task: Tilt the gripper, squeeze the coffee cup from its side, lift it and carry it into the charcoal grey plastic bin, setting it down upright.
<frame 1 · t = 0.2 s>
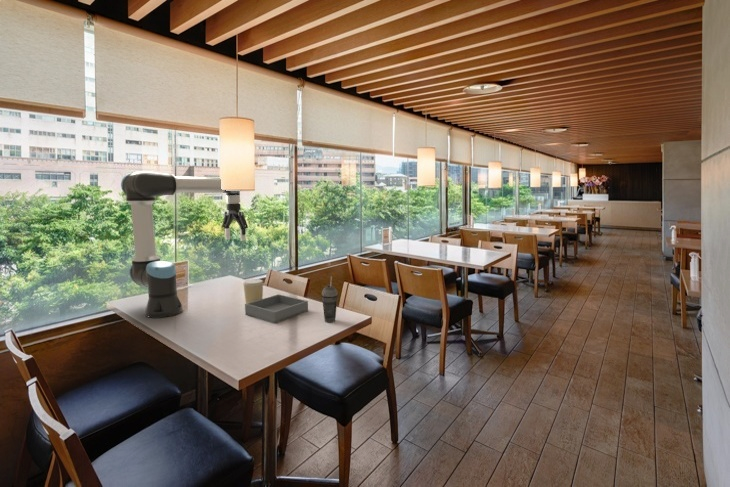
hand: (235, 240, 217), 28 cm above the table, tool pointing down, fingers open, 13 cm apart
beverage cup: (330, 321, 163), on the table
coffee cup: (254, 305, 186), on the table
grey bin: (277, 312, 174), on the table
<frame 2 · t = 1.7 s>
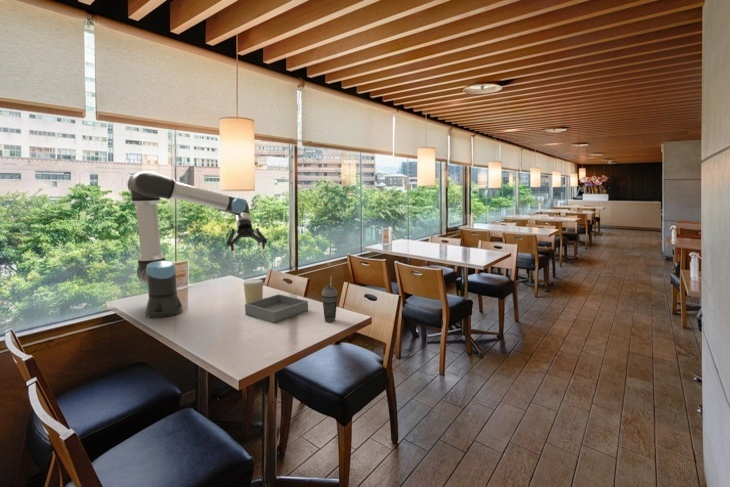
hand: (249, 254, 193), 24 cm above the table, tool tilted 45°, fingers open, 13 cm apart
nothing on the table moved.
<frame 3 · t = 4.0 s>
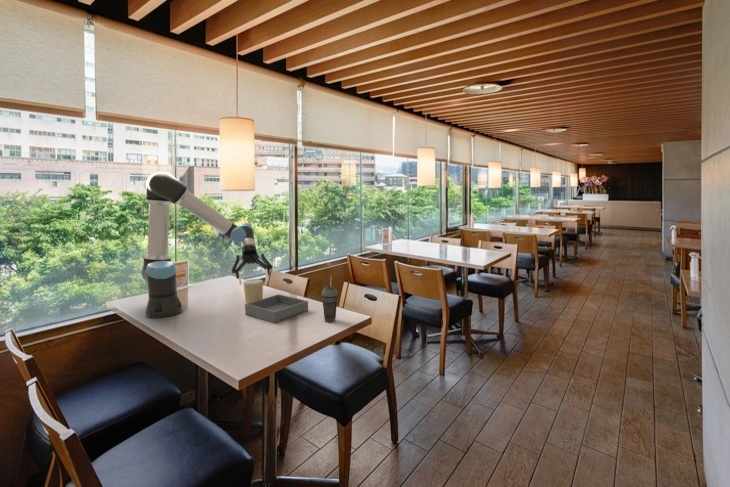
hand: (254, 282, 191), 10 cm above the table, tool tilted 45°, fingers open, 13 cm apart
nothing on the table moved.
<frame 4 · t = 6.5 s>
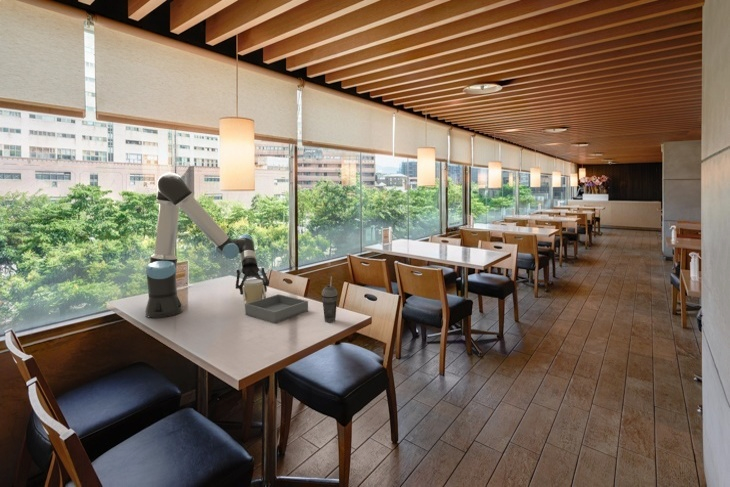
hand: (254, 298, 183), 4 cm above the table, tool tilted 45°, fingers closed on coffee cup, 9 cm apart
coffee cup: (254, 305, 186), on the table, touching gripper
everything else where it was.
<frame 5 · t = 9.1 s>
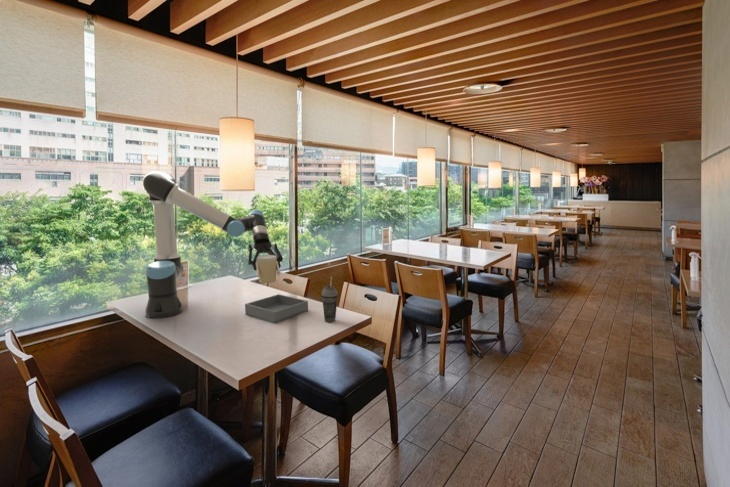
hand: (268, 274, 176), 17 cm above the table, tool tilted 45°, fingers closed on coffee cup, 9 cm apart
coffee cup: (267, 281, 180), point 13 cm above the table, touching gripper
everything else where it was.
when the fingers open (6 cm above the table, at t = 12.1 s): coffee cup drops 1 cm, resting on grey bin.
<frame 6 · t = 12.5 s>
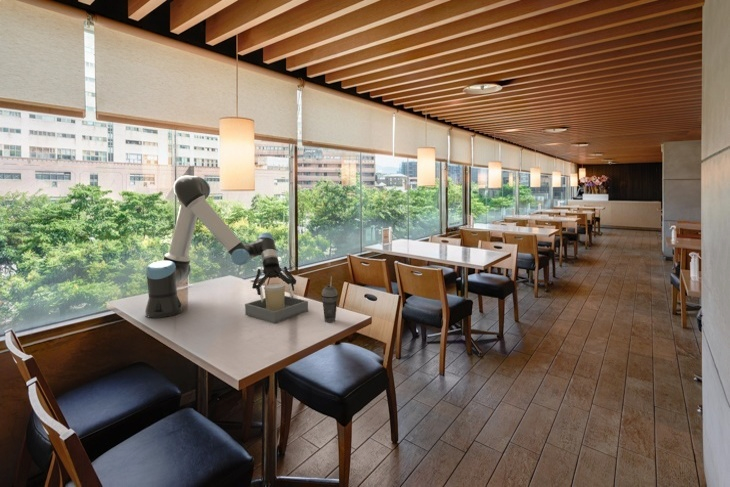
hand: (277, 298, 171), 7 cm above the table, tool tilted 45°, fingers open, 13 cm apart
coffee cup: (275, 311, 174), point 1 cm above the table, touching grey bin
everything else where it was.
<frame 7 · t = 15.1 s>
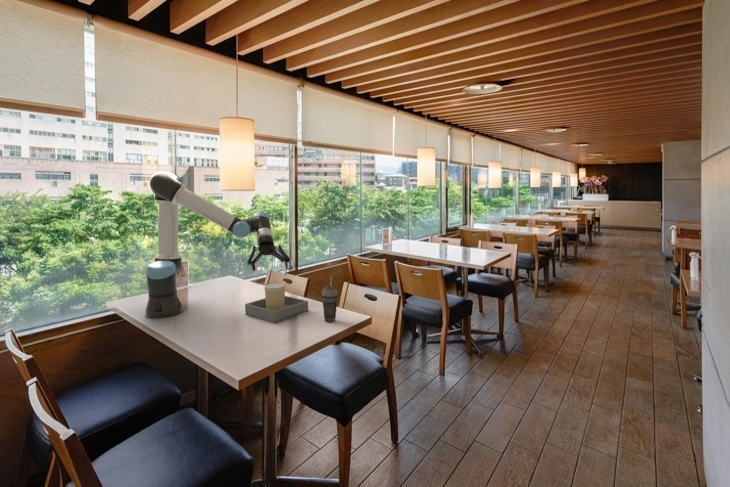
hand: (271, 275, 178), 16 cm above the table, tool tilted 40°, fingers open, 13 cm apart
nothing on the table moved.
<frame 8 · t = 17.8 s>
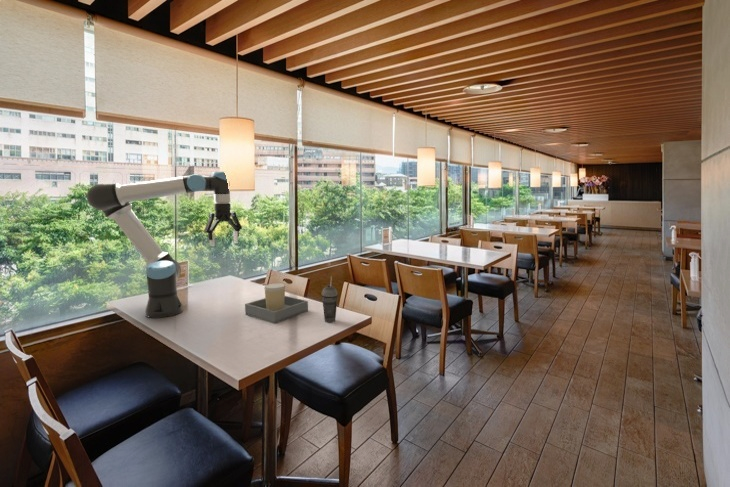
hand: (224, 244, 191), 29 cm above the table, tool pointing down, fingers open, 13 cm apart
nothing on the table moved.
at the end: coffee cup inside the target area on the grey bin (0.6 cm from its centre), point 0.8 cm above the grey bin's base; coffee cup tilted 0°; the gripper is holding nothing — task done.
